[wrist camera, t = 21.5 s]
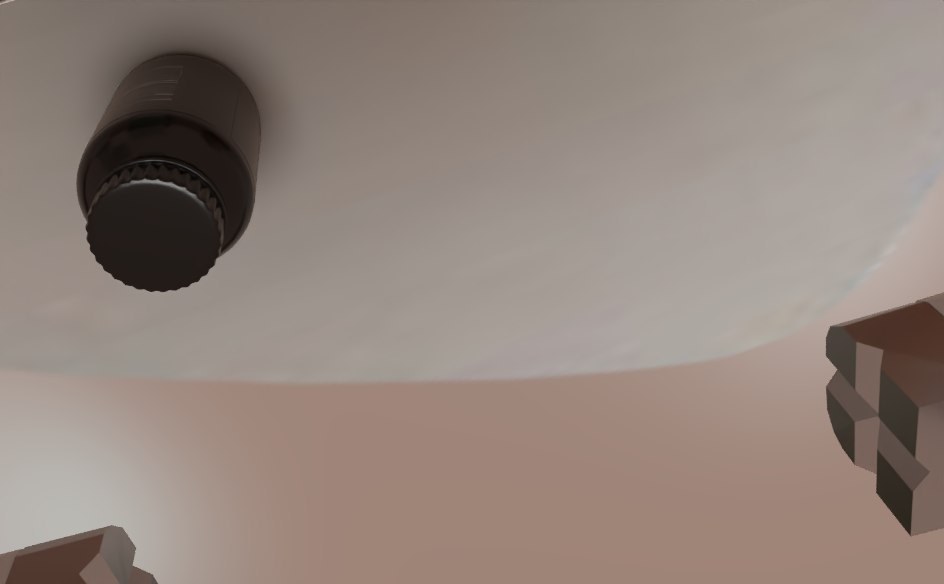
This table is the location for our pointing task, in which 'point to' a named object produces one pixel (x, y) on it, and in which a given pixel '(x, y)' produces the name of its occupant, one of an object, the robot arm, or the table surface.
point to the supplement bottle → (170, 172)
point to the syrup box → (5, 1)
